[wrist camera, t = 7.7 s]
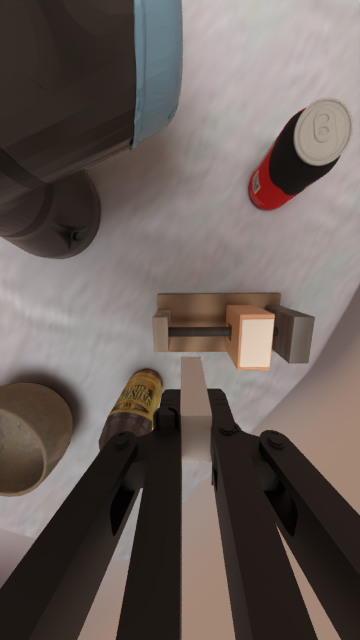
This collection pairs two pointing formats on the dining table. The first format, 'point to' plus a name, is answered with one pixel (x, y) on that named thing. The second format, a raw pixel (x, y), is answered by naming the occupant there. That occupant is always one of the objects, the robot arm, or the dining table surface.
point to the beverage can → (302, 153)
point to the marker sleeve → (249, 336)
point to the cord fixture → (210, 324)
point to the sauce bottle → (134, 407)
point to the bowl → (31, 435)
